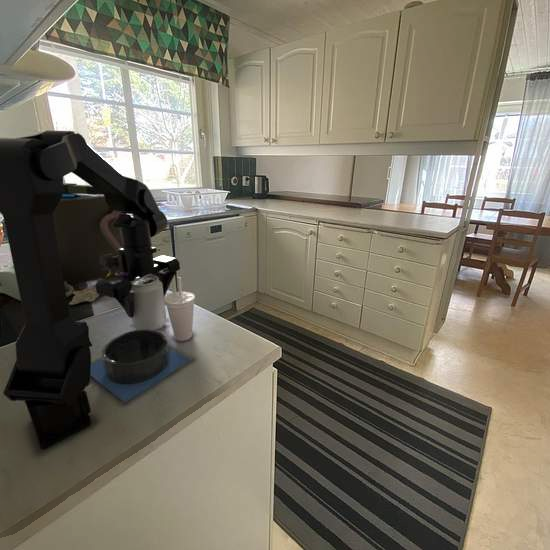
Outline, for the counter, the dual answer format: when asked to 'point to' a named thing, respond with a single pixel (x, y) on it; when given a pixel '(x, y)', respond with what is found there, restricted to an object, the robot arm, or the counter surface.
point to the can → (148, 304)
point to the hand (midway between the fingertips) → (146, 308)
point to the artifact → (85, 295)
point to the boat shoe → (9, 282)
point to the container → (83, 236)
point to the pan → (135, 356)
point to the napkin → (132, 390)
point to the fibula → (68, 287)
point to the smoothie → (181, 312)
